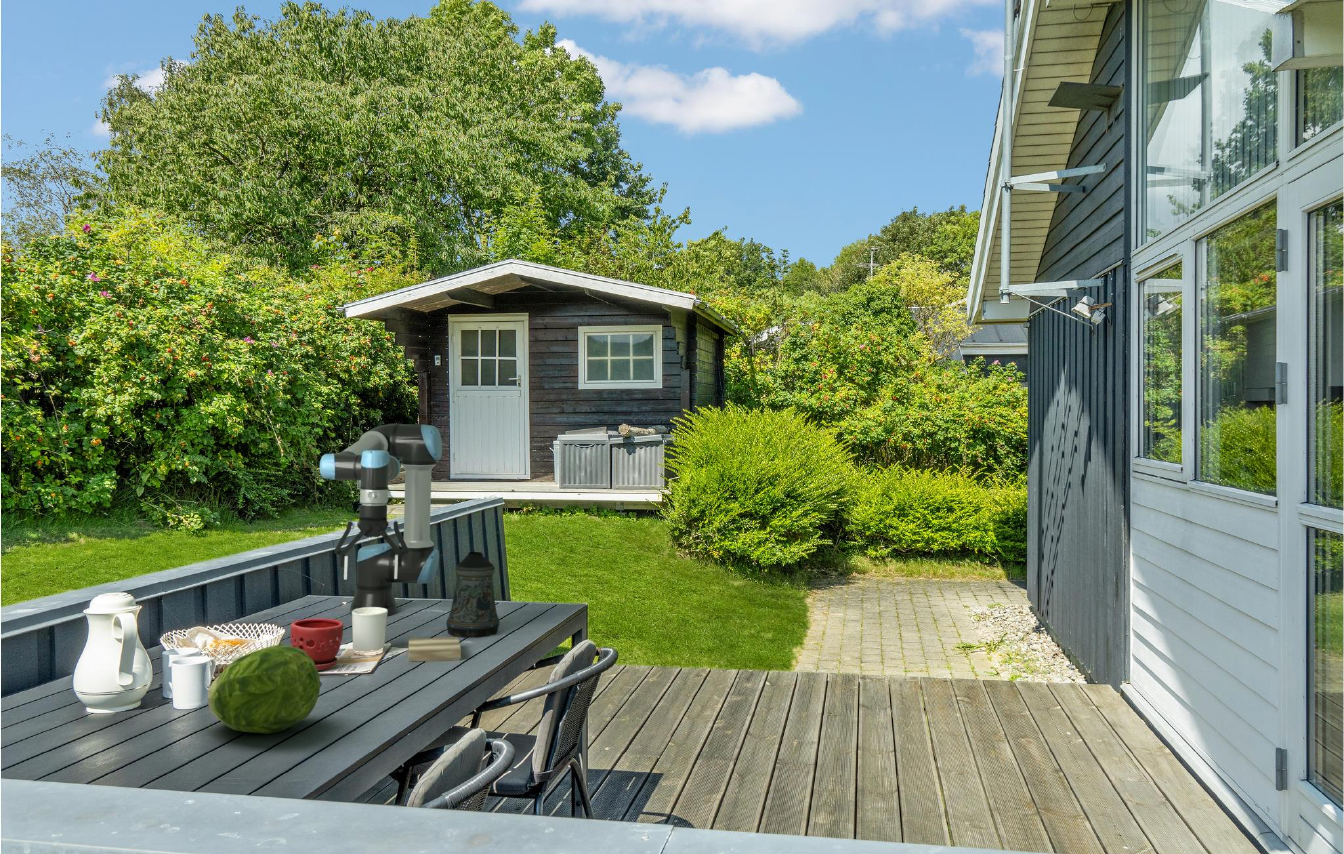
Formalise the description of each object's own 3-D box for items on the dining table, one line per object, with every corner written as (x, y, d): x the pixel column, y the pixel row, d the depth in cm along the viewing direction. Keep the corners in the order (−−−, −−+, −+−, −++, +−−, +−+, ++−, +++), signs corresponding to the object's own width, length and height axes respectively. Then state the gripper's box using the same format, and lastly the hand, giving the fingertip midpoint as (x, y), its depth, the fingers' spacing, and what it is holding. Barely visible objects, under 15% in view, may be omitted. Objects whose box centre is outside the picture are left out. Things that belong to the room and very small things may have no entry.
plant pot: (323, 675, 237) (325, 629, 236) (278, 670, 239) (280, 625, 239) (351, 662, 249) (352, 619, 249) (308, 658, 252) (309, 615, 252)
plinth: (408, 649, 266) (408, 638, 266) (457, 647, 270) (457, 637, 270) (408, 661, 252) (409, 651, 252) (460, 659, 256) (460, 649, 256)
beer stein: (469, 640, 278) (472, 559, 277) (429, 629, 289) (432, 551, 289) (510, 631, 291) (513, 554, 291) (469, 621, 303) (472, 546, 302)
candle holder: (391, 649, 265) (393, 608, 265) (377, 657, 255) (379, 615, 255) (359, 646, 266) (361, 606, 266) (344, 655, 256) (345, 613, 256)
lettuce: (250, 710, 209) (231, 636, 206) (343, 702, 205) (324, 627, 202) (196, 755, 191) (174, 675, 188) (296, 748, 187) (275, 666, 183)
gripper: (326, 504, 253) (323, 581, 253) (419, 505, 260) (416, 580, 260) (328, 502, 260) (325, 576, 260) (418, 503, 267) (415, 575, 267)
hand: (370, 578), depth 260 cm, fingers open, 13 cm apart
